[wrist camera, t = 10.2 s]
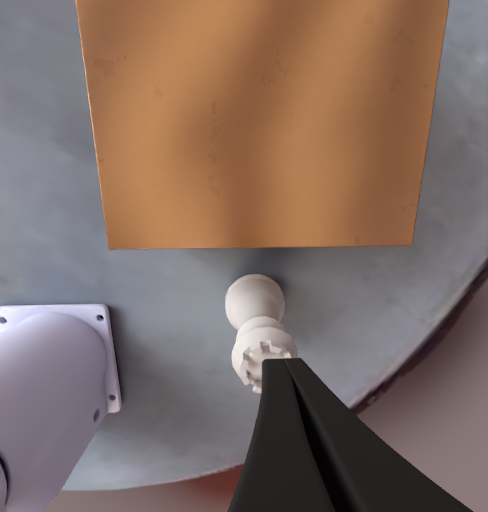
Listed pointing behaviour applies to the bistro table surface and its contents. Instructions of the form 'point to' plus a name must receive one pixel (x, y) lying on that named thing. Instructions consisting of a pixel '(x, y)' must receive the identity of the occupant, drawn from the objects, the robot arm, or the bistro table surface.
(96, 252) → the bistro table surface
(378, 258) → the bistro table surface
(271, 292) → the rook chess piece
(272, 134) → the lid
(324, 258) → the bistro table surface
